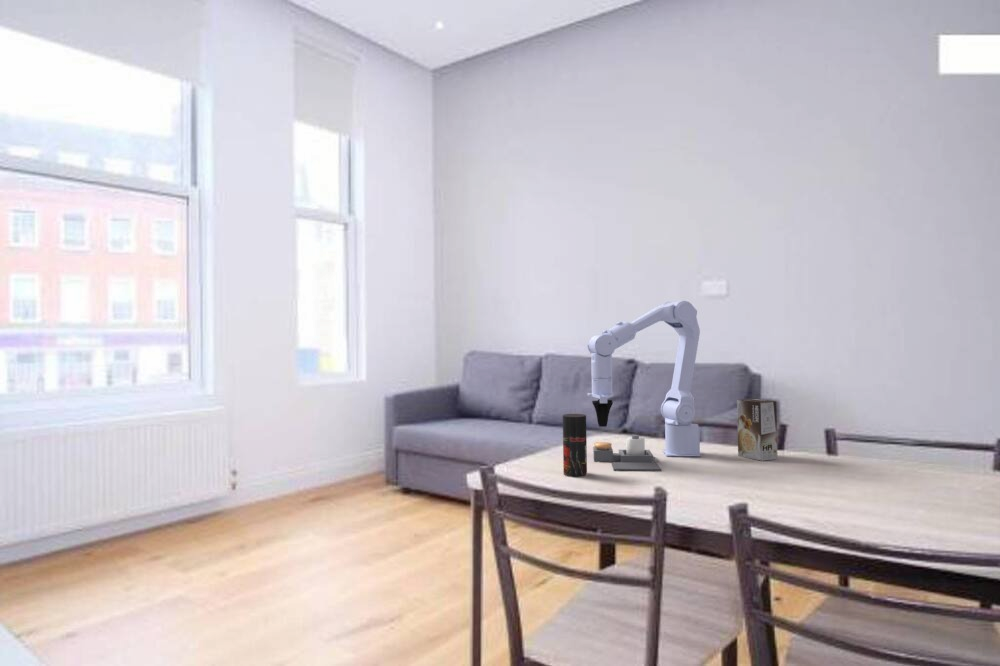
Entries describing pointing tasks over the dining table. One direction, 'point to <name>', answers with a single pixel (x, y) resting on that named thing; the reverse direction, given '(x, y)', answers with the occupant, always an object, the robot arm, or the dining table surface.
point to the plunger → (602, 445)
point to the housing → (620, 456)
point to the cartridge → (635, 445)
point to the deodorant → (574, 445)
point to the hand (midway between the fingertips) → (602, 426)
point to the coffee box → (757, 429)
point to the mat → (635, 466)
